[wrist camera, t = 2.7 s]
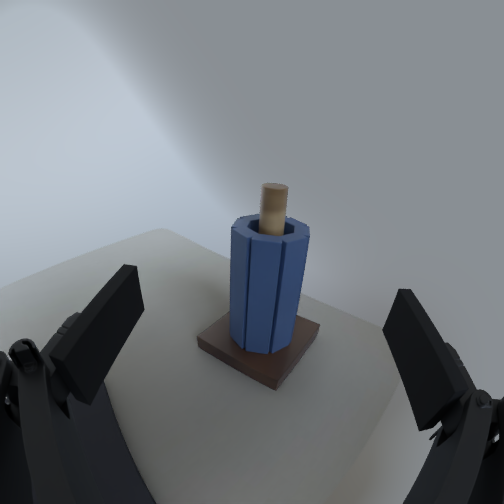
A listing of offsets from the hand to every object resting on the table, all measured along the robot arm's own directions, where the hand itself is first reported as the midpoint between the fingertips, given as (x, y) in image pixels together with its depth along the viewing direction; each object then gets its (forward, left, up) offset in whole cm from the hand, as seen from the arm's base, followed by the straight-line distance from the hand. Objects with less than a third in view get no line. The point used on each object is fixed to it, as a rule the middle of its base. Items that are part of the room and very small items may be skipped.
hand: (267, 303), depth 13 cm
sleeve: (+8, -6, -11) cm, 14 cm away
